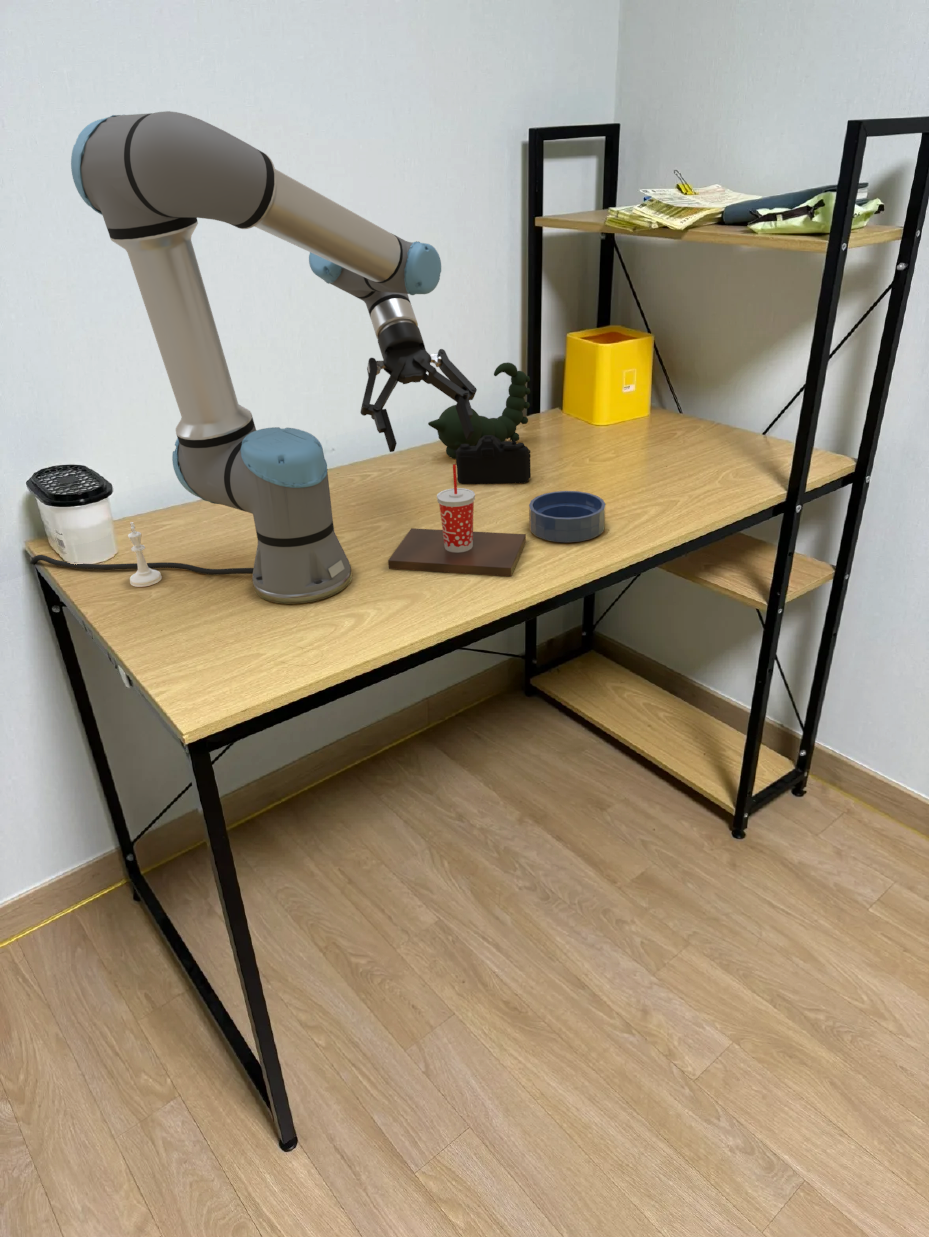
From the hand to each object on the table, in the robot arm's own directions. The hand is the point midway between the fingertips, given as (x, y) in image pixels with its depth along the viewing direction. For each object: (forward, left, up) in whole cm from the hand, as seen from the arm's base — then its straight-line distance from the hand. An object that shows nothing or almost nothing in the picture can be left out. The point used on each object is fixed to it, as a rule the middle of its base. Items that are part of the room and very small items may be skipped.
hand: (432, 441), depth 145 cm
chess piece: (-42, -26, -16) cm, 52 cm away
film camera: (+4, +27, -16) cm, 32 cm away
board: (+6, -10, -16) cm, 20 cm away
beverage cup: (+6, -10, -14) cm, 19 cm away
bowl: (+22, +3, -16) cm, 27 cm away
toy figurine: (-2, +42, -16) cm, 45 cm away
